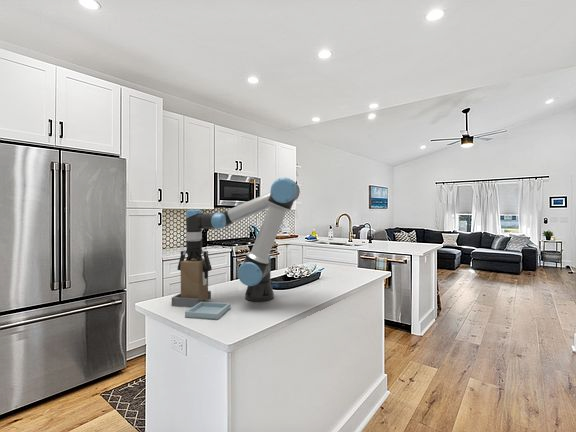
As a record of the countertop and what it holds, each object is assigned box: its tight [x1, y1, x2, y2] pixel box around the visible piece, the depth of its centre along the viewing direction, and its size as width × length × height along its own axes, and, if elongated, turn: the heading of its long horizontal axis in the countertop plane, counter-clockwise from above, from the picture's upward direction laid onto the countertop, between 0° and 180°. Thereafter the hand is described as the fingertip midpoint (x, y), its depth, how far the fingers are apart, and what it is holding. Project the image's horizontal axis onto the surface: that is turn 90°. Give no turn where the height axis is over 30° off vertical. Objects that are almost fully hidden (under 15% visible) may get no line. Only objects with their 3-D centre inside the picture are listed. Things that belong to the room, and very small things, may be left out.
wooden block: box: [179, 258, 209, 303], centre depth 156 cm, size 10×10×20 cm
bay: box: [171, 290, 212, 308], centre depth 156 cm, size 14×15×4 cm
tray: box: [184, 301, 232, 321], centre depth 140 cm, size 15×15×2 cm
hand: (194, 284), depth 156 cm, fingers closed on wooden block, 10 cm apart
